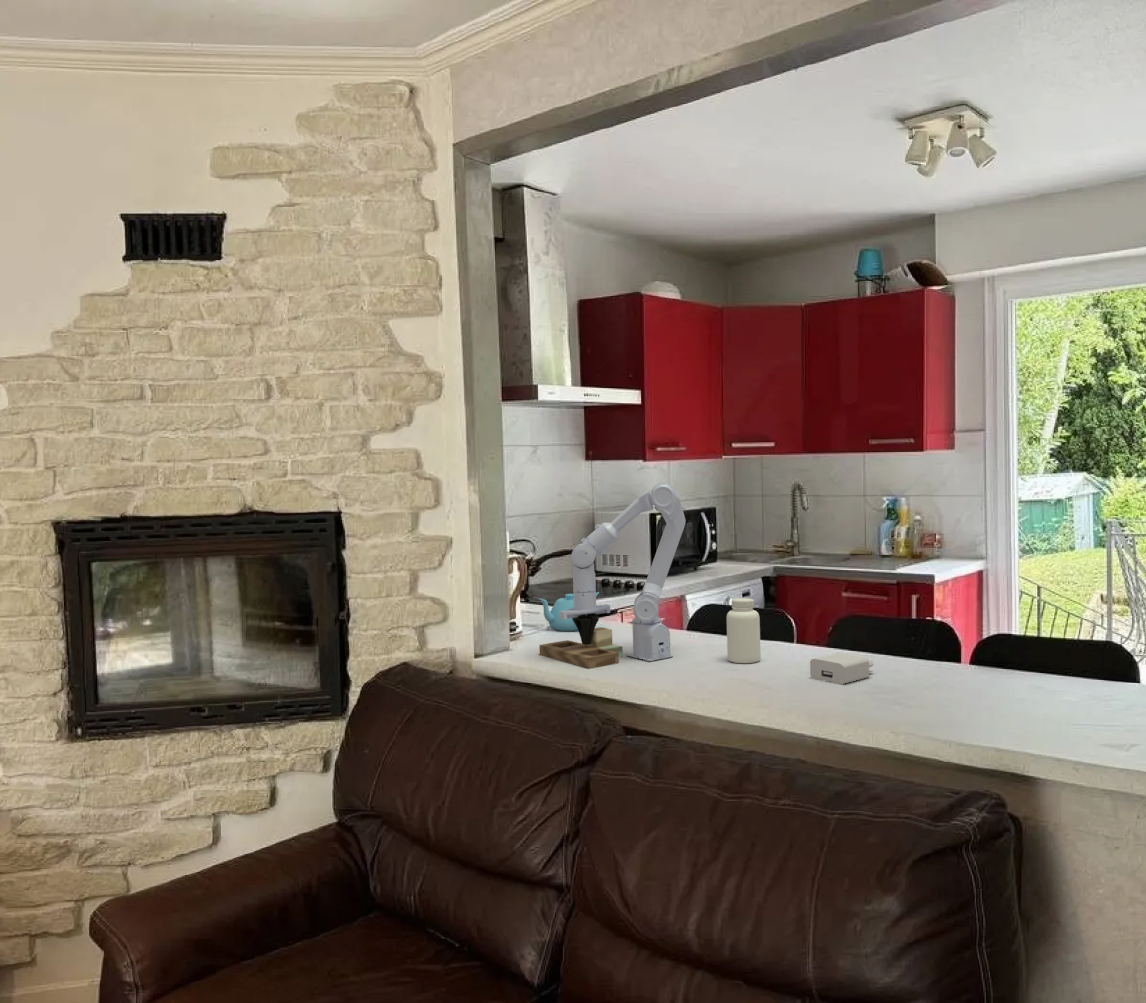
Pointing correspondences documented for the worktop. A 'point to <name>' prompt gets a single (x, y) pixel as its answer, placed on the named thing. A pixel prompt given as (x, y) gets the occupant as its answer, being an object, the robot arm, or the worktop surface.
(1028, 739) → the worktop surface
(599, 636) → the birch block
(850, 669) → the charger
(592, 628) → the robot arm
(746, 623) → the pill bottle
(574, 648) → the tray
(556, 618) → the teapot
